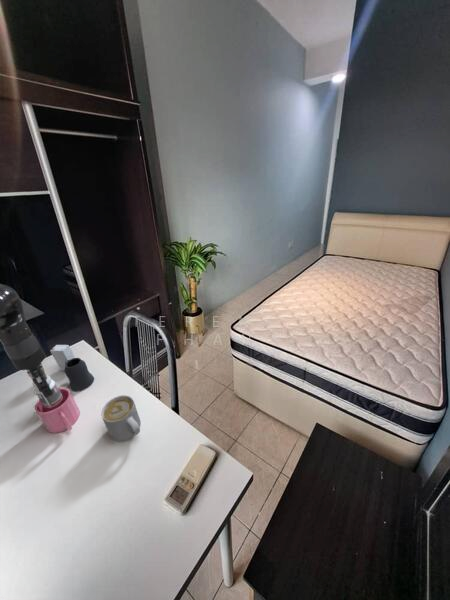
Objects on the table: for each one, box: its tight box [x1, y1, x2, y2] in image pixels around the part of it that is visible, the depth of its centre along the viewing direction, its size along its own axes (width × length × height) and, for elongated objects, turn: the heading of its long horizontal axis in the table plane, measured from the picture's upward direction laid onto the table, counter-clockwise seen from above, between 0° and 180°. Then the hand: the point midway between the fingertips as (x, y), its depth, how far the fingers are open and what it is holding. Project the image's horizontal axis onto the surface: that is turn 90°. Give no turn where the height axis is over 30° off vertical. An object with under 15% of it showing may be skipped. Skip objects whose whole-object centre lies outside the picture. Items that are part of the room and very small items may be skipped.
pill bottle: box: [32, 374, 63, 408], centre depth 81 cm, size 6×6×10 cm
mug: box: [63, 357, 95, 393], centre depth 101 cm, size 12×9×11 cm
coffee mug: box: [101, 394, 142, 443], centre depth 80 cm, size 13×10×10 cm
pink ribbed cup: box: [34, 387, 81, 434], centre depth 84 cm, size 14×10×10 cm
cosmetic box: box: [50, 344, 76, 372], centre depth 108 cm, size 6×4×12 cm
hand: (46, 389), depth 81 cm, fingers closed on pill bottle, 5 cm apart
